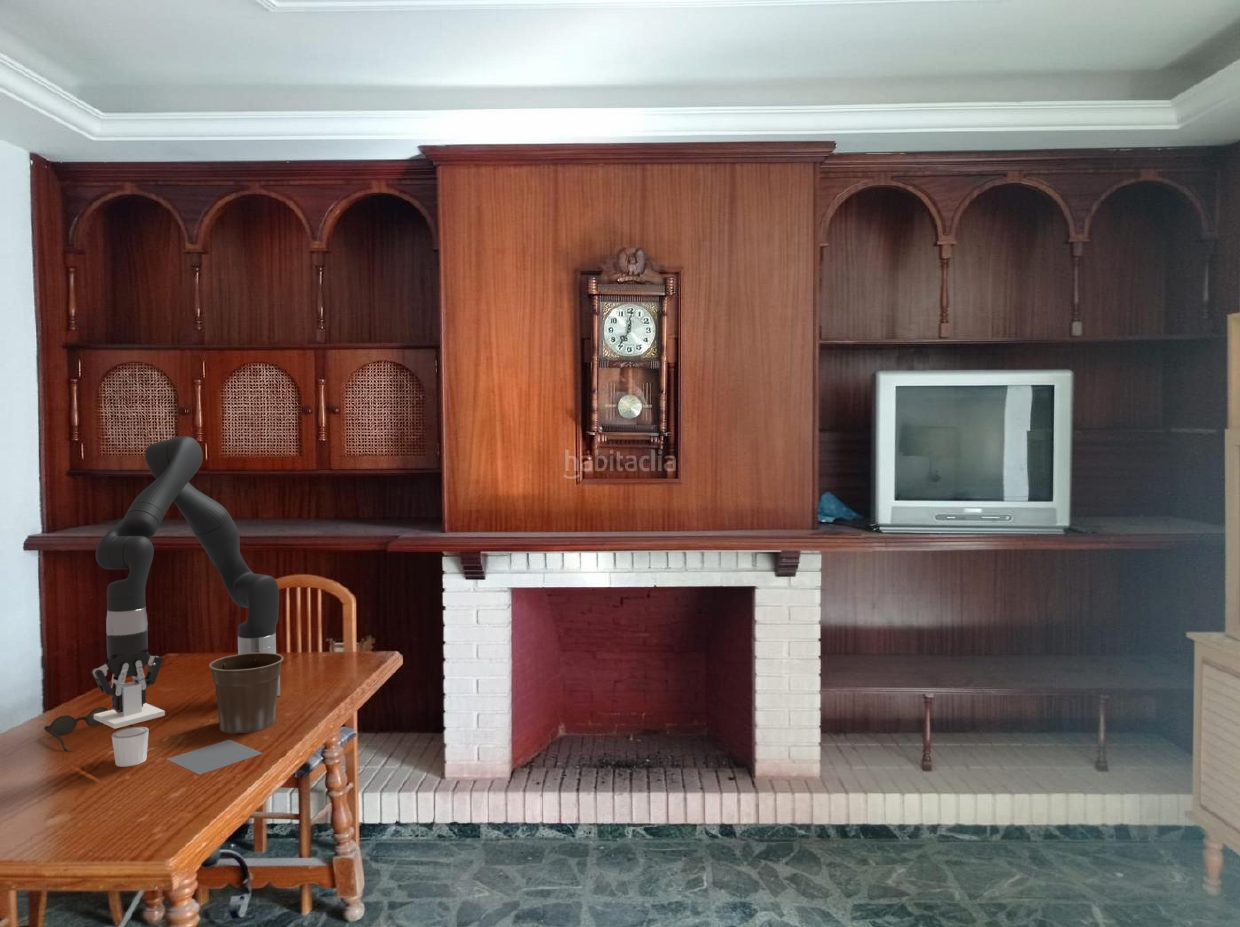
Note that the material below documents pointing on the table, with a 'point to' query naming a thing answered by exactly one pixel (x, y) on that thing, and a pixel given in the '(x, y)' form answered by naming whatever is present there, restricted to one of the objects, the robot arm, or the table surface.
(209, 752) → the mat
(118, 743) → the shot glass
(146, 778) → the table surface
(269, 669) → the plant pot
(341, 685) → the table surface
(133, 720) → the lid
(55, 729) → the eyeglasses
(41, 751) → the table surface
